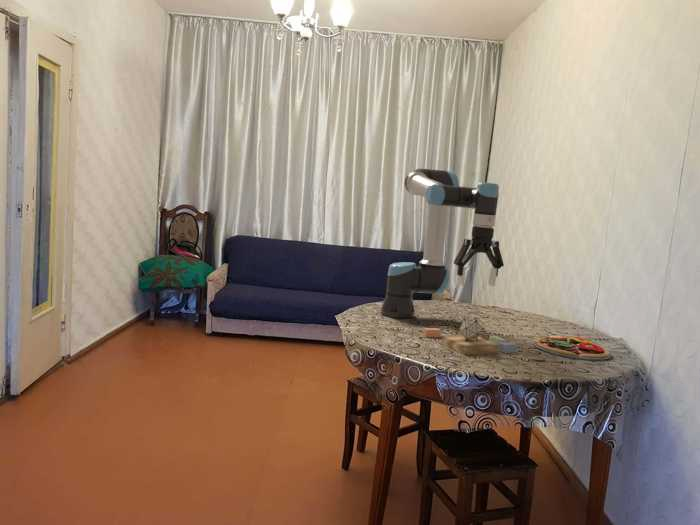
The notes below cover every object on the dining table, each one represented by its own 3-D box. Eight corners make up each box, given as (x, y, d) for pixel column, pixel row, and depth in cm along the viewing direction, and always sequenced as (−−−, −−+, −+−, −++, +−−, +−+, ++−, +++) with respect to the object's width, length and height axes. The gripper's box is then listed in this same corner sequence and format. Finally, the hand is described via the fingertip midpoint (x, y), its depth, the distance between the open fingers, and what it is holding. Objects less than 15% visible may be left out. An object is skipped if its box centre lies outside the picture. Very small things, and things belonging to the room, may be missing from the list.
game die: (473, 351, 202) (486, 333, 196) (451, 340, 203) (463, 322, 197) (477, 335, 209) (490, 317, 203) (456, 324, 210) (468, 306, 203)
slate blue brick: (503, 353, 202) (504, 345, 202) (497, 351, 204) (498, 342, 204) (516, 352, 205) (517, 344, 205) (509, 350, 207) (510, 342, 207)
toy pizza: (621, 366, 199) (622, 353, 199) (538, 355, 204) (540, 343, 203) (600, 347, 227) (601, 336, 226) (528, 338, 231) (529, 328, 231)
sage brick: (488, 343, 215) (489, 335, 214) (494, 343, 216) (495, 335, 216) (498, 348, 209) (499, 339, 209) (505, 347, 211) (506, 339, 210)
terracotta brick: (425, 337, 216) (426, 329, 216) (422, 335, 219) (423, 327, 218) (440, 337, 217) (441, 330, 217) (437, 335, 220) (437, 328, 220)
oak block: (441, 343, 207) (442, 335, 207) (472, 342, 213) (473, 334, 213) (464, 354, 194) (465, 346, 194) (497, 353, 200) (498, 344, 200)
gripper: (460, 225, 196) (453, 286, 198) (518, 229, 206) (510, 287, 209) (448, 223, 202) (441, 282, 205) (504, 227, 213) (497, 283, 215)
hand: (476, 285), depth 207 cm, fingers open, 13 cm apart
